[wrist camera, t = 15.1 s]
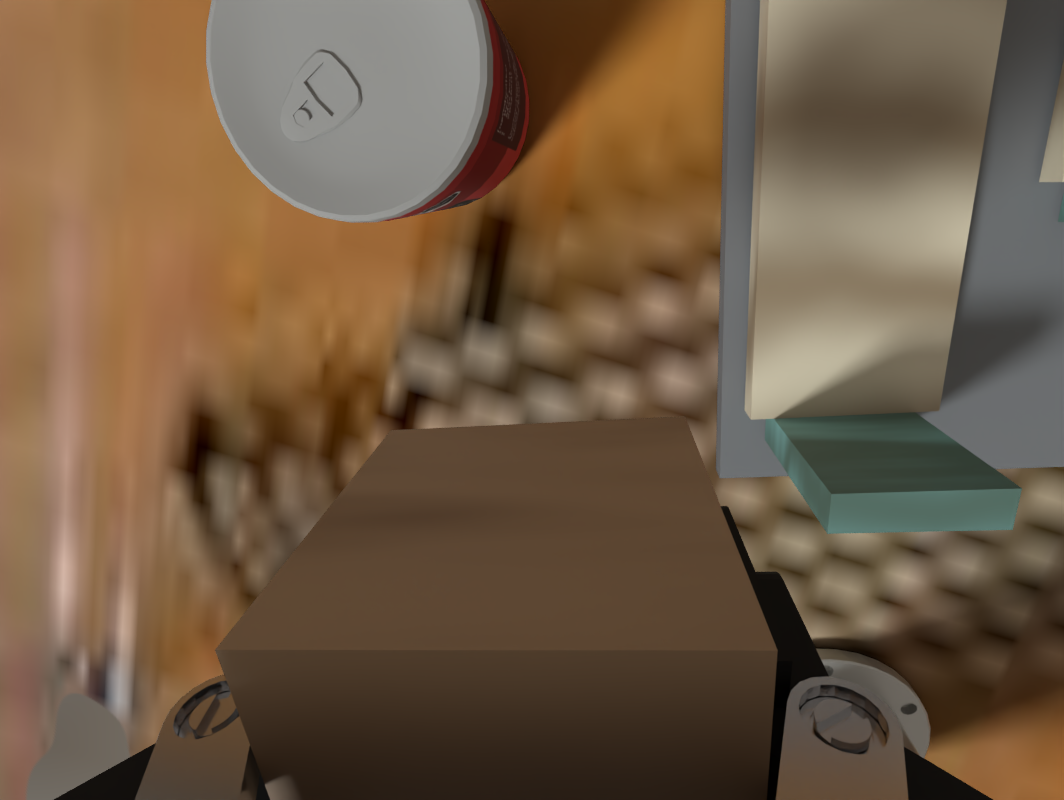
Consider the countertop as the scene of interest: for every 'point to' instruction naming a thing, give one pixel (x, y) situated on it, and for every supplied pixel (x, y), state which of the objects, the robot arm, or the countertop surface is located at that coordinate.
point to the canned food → (368, 101)
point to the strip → (868, 254)
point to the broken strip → (1055, 144)
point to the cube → (513, 627)
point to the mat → (988, 271)
